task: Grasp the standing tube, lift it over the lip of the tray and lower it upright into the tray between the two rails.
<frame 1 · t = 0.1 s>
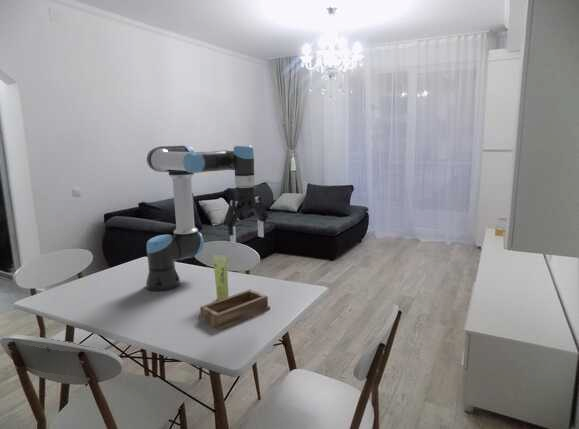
hand: (247, 239, 155), 28 cm above the table, fingers open, 13 cm apart
tray: (235, 313, 154), on the table
tube: (222, 299, 168), on the table
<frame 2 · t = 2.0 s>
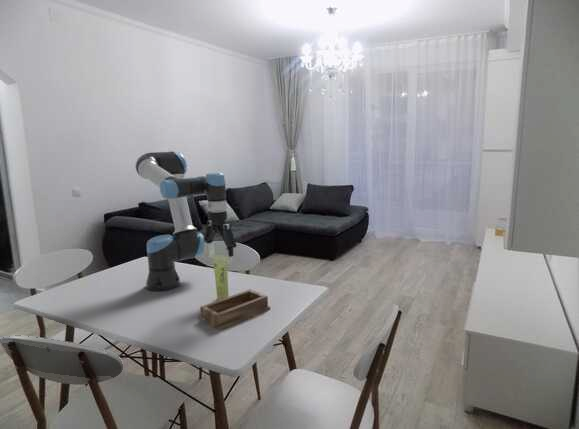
hand: (220, 260, 165), 17 cm above the table, fingers open, 13 cm apart
nothing on the table moved.
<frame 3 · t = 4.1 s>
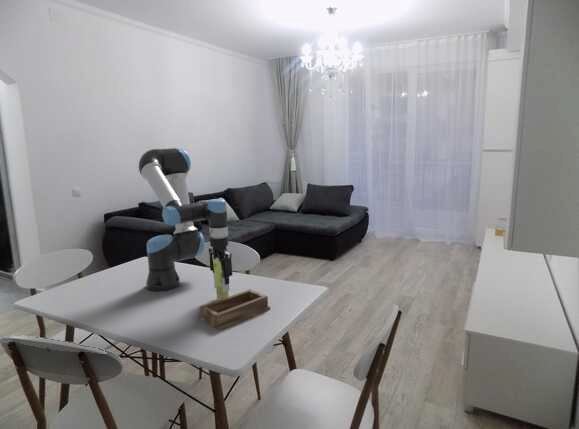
hand: (222, 289, 168), 4 cm above the table, fingers closed on tube, 6 cm apart
tube: (222, 299, 168), on the table, touching gripper
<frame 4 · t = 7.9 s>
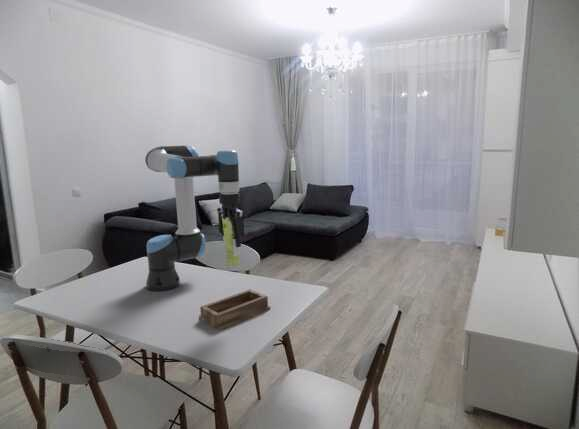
hand: (232, 253, 149), 25 cm above the table, fingers closed on tube, 6 cm apart
tube: (232, 264, 150), point 20 cm above the table, touching gripper
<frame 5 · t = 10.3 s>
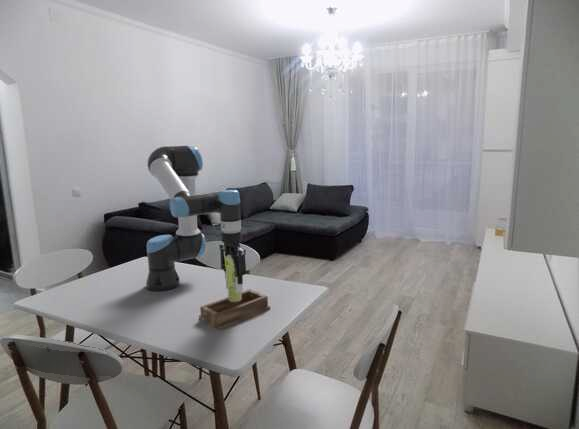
hand: (234, 289, 152), 10 cm above the table, fingers closed on tube, 6 cm apart
tube: (234, 300, 153), point 5 cm above the table, touching gripper
when the fingers open (6 cm above the table, at t = 11.9 s): tube stays where it is, resting on tray.
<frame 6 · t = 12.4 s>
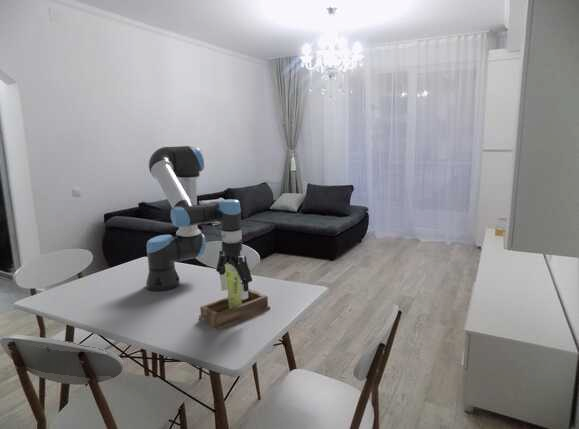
hand: (234, 294, 152), 8 cm above the table, fingers open, 12 cm apart
tube: (235, 311, 154), point 1 cm above the table, touching tray
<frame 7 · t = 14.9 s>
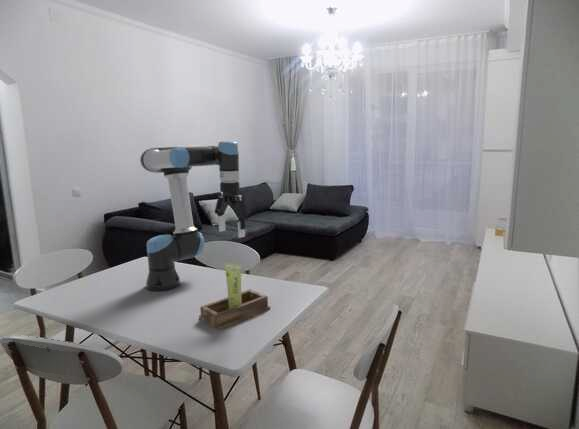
hand: (231, 234, 158), 30 cm above the table, fingers open, 13 cm apart
nothing on the table moved.
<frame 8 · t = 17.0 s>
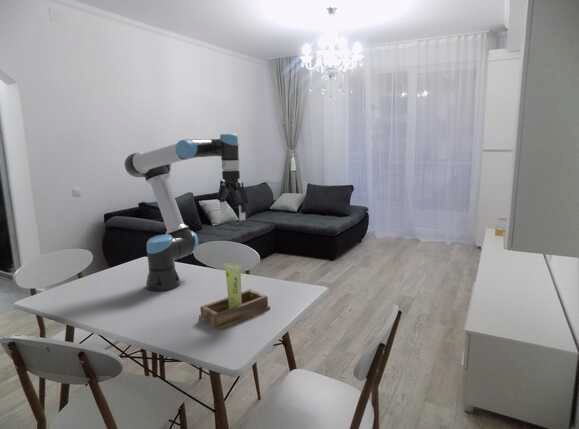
hand: (233, 218, 175), 33 cm above the table, fingers open, 13 cm apart
nothing on the table moved.
at the end: tube inside the target area on the tray (0.2 cm from its centre), point 0.8 cm above the tray's base; tube tilted 0°; the gripper is holding nothing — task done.
